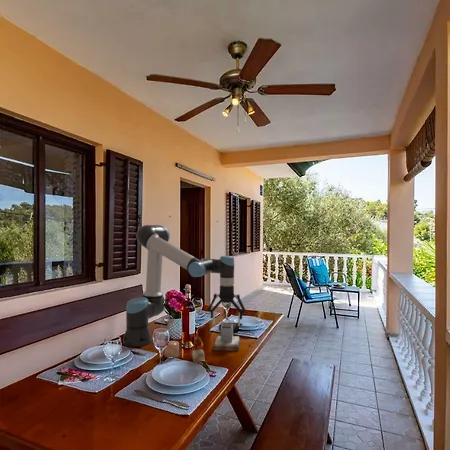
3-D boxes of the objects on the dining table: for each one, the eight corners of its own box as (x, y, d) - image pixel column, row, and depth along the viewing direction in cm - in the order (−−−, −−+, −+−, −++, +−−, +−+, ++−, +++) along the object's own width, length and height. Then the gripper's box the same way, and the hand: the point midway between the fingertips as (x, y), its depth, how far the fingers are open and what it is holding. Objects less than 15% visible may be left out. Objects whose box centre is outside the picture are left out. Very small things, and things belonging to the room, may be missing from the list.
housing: (222, 337, 169) (222, 322, 169) (233, 337, 168) (233, 323, 168) (220, 342, 162) (220, 326, 162) (232, 342, 161) (231, 327, 161)
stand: (213, 350, 159) (213, 344, 159) (216, 340, 172) (216, 335, 172) (238, 350, 158) (238, 345, 158) (240, 341, 171) (240, 336, 171)
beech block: (194, 363, 144) (194, 354, 144) (192, 358, 149) (192, 350, 149) (204, 361, 146) (204, 353, 146) (202, 357, 151) (202, 349, 151)
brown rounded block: (162, 358, 150) (162, 345, 150) (167, 352, 157) (167, 340, 157) (176, 358, 149) (176, 346, 149) (180, 353, 156) (180, 341, 156)
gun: (216, 337, 177) (219, 319, 180) (234, 339, 192) (237, 322, 195) (223, 338, 174) (226, 320, 177) (240, 340, 190) (243, 323, 193)
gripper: (202, 285, 163) (202, 325, 163) (250, 287, 160) (249, 328, 160) (205, 283, 170) (204, 321, 170) (250, 284, 168) (249, 323, 168)
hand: (226, 324), depth 165 cm, fingers open, 13 cm apart
